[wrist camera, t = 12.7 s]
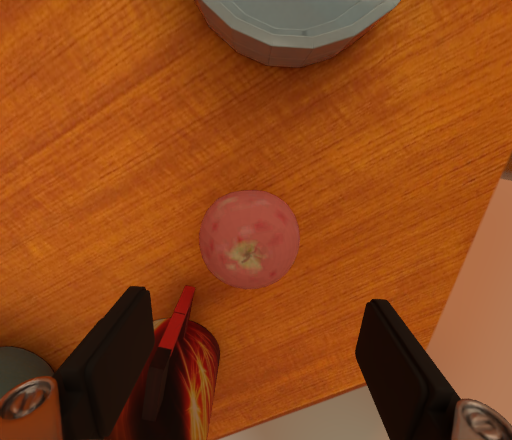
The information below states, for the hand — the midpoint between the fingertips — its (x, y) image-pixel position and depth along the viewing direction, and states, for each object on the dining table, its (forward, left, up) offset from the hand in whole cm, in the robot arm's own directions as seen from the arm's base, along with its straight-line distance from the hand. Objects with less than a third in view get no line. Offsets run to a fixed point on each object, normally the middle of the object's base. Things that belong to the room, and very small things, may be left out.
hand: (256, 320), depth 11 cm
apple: (0, 0, -13) cm, 13 cm away
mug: (+9, +14, -13) cm, 21 cm away
